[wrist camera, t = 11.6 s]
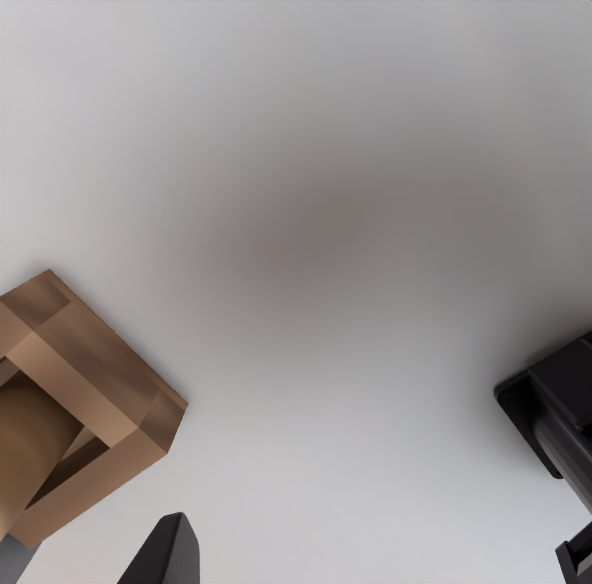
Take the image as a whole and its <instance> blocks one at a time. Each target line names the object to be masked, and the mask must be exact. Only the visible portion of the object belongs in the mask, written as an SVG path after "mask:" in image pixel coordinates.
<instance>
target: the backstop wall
mask: <svg viewBox="0 0 592 584" xmlns="http://www.w3.org/2000/svg"><path fill="white" fill-rule="evenodd" d="M41 543H42V542H40V543H39V544H37V545H36V546H34V547H33V548H32V549H29V548H28V547H26V546H25V545H24V544H22V543H21V542H20V541H18V540H17V539H16V538H14V537H13V536H12V535H10V534H9V533H8V532H7V534H6V535H5V536H4V538H3V539H2V541H1V542H0V584H16V583H17V581H18V579H19V578H20V576H21V575H22V573H23V572H24V570H25V568H26V567H27V565H28V564H29V562H30V560H31V559H32V557H33V556H34V554H35V553H36V551H37V549H38V548H39V546H40V545H41Z"/></svg>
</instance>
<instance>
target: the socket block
mask: <svg viewBox="0 0 592 584" xmlns="http://www.w3.org/2000/svg"><path fill="white" fill-rule="evenodd" d="M20 369H21V370H22V371H23V372H24V373H25V374H27V375H28V376H29V377H30V378H31V379H32V380H33V381H35V382H36V383H37V384H38V385H39V386H40V387H41V388H43V389H44V390H45V391H46V392H47V393H48V394H49V395H51V396H52V397H53V398H54V399H55V400H56V401H57V402H58V403H60V404H61V405H62V406H63V407H64V408H65V409H66V410H68V411H69V412H70V413H71V414H72V415H73V416H74V417H76V418H77V419H78V420H79V421H80V422H81V423H82V424H84V425H85V426H84V428H83V429H82V431H81V432H80V433H79V435H78V436H77V437H76V439H75V440H74V442H73V443H72V444H71V446H70V447H69V448H68V450H67V451H66V453H65V454H64V455H63V457H62V458H61V459H60V461H59V462H58V464H57V465H56V466H55V468H54V469H53V470H52V472H51V473H50V475H49V476H48V477H47V479H46V480H45V481H44V483H43V484H42V486H41V487H40V488H39V490H38V491H37V492H36V494H35V495H34V497H33V498H32V499H31V501H30V502H29V503H28V505H27V506H26V508H25V509H24V510H23V512H22V513H21V514H20V516H19V517H18V519H17V520H16V521H15V523H14V524H13V525H12V527H11V528H10V530H9V531H8V533H9V534H10V535H12V536H13V537H14V538H16V539H17V540H18V541H20V542H21V543H22V544H24V545H25V546H26V547H28V548H29V549H32V548H33V547H34V546H36V545H37V544H39V543H40V542H42V541H43V540H45V539H46V538H47V537H49V536H50V535H52V534H53V533H55V532H56V531H57V530H59V529H60V528H62V527H63V526H65V525H66V524H68V523H69V522H70V521H72V520H73V519H75V518H76V517H78V516H79V515H80V514H82V513H83V512H85V511H86V510H88V509H89V508H90V507H92V506H93V505H95V504H96V503H98V502H99V501H101V500H102V499H103V498H105V497H106V496H108V495H109V494H111V493H112V492H113V491H115V490H116V489H118V488H119V487H121V486H122V485H123V484H125V483H126V482H128V481H129V480H131V479H132V478H134V477H135V476H136V475H138V474H139V473H141V472H142V471H144V470H145V469H146V468H148V467H149V466H151V465H152V464H154V463H155V462H157V461H158V460H159V459H161V458H162V457H164V456H165V455H167V454H168V451H169V449H170V447H171V444H172V442H173V439H174V437H175V435H176V432H177V430H178V427H179V425H180V423H181V420H182V418H183V415H184V413H185V410H186V408H187V406H188V403H187V402H186V401H184V400H183V399H182V398H181V397H180V396H179V395H178V394H177V393H176V392H175V391H174V390H173V389H172V388H171V387H170V386H169V385H168V384H167V383H166V382H165V381H164V380H163V379H162V378H161V377H160V376H159V375H158V374H157V373H156V372H155V371H154V370H153V369H152V368H151V367H150V366H149V365H148V364H147V363H145V362H144V361H143V360H142V359H141V358H140V357H139V356H138V355H137V354H136V353H135V352H134V351H133V350H132V349H131V348H130V347H129V346H128V345H127V344H126V343H125V342H124V341H123V340H122V339H121V338H120V337H119V336H118V335H117V334H116V333H115V332H114V331H113V330H112V329H111V328H110V327H109V326H108V325H106V324H105V323H104V322H103V321H102V320H101V319H100V318H99V317H98V316H97V315H96V314H95V313H94V312H93V311H92V310H91V309H90V308H89V307H88V306H87V305H86V304H85V303H84V302H83V301H82V300H81V299H80V298H79V297H78V296H77V295H76V294H75V293H74V292H73V291H72V290H71V289H70V288H69V287H67V286H66V285H65V284H64V283H63V282H62V281H61V280H60V279H59V278H58V277H57V276H56V275H55V274H54V273H53V272H52V271H51V270H50V269H49V270H47V271H45V272H44V273H42V274H40V275H38V276H36V277H35V278H33V279H31V280H29V281H27V282H26V283H24V284H22V285H20V286H18V287H17V288H15V289H13V290H11V291H9V292H8V293H6V294H4V295H2V296H0V386H2V385H3V384H4V383H5V382H6V381H7V380H9V379H10V378H11V377H12V376H13V375H14V374H16V373H17V372H18V371H19V370H20Z"/></svg>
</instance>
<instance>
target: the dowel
mask: <svg viewBox="0 0 592 584" xmlns="http://www.w3.org/2000/svg"><path fill="white" fill-rule="evenodd" d="M84 426H85V425H84V424H82V423H81V422H80V421H79V420H78V419H77V418H76V417H74V416H73V415H72V414H71V413H70V412H69V411H68V410H66V409H65V408H64V407H63V406H62V405H61V404H60V403H58V402H57V401H56V400H55V399H54V398H53V397H52V396H51V395H49V394H48V393H47V392H46V391H45V390H44V389H43V388H41V387H40V386H39V385H38V384H37V383H36V382H35V381H33V380H32V379H31V378H30V377H29V376H28V375H27V374H25V373H24V372H23V371H22V370H21V369H20V370H19V371H18V372H17V373H16V374H14V375H13V376H12V377H11V378H10V379H9V380H7V381H6V382H5V383H4V384H3V385H2V386H0V542H1V541H2V539H3V538H4V536H5V535H6V534H7V532H8V531H9V530H10V528H11V527H12V525H13V524H14V523H15V521H16V520H17V519H18V517H19V516H20V514H21V513H22V512H23V510H24V509H25V508H26V506H27V505H28V503H29V502H30V501H31V499H32V498H33V497H34V495H35V494H36V492H37V491H38V490H39V488H40V487H41V486H42V484H43V483H44V481H45V480H46V479H47V477H48V476H49V475H50V473H51V472H52V470H53V469H54V468H55V466H56V465H57V464H58V462H59V461H60V459H61V458H62V457H63V455H64V454H65V453H66V451H67V450H68V448H69V447H70V446H71V444H72V443H73V442H74V440H75V439H76V437H77V436H78V435H79V433H80V432H81V431H82V429H83V428H84Z"/></svg>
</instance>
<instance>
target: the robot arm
mask: <svg viewBox="0 0 592 584" xmlns="http://www.w3.org/2000/svg"><path fill="white" fill-rule="evenodd" d="M507 393H509V395H508V396H507V397H503V395H505V394H507ZM494 397H495V399H496V401H497V402H498V403H499V405H500V406H501V407H502V409H503V410H504V412H505V413H506V414H507V416H508V417H509V418H510V420H511V421H512V422H513V424H514V425H515V426H516V428H517V429H518V430H519V432H520V433H521V434H522V436H523V437H524V439H525V440H526V441H527V443H528V444H529V445H530V447H531V448H532V449H533V451H534V452H535V453H536V455H537V456H538V457H539V459H540V460H541V461H542V463H543V464H544V466H545V467H546V468H547V470H548V471H549V472H550V474H551V475H552V476H553V477H554V478H556V479H563V478H565V480H566V481H567V482H568V484H569V485H570V487H571V488H572V489H573V491H574V492H575V493H576V495H577V496H578V497H579V499H580V500H581V501H582V503H583V504H584V505H585V507H586V508H587V509H588V511H589V512H590V513H591V515H592V331H591V332H589V333H587V334H586V335H584V336H582V337H581V338H579V339H577V340H576V341H574V342H572V343H571V344H569V345H567V346H565V347H564V348H562V349H560V350H559V351H557V352H555V353H554V354H552V355H550V356H549V357H547V358H545V359H544V360H542V361H540V362H538V363H537V364H535V365H533V366H532V367H530V368H528V369H527V370H525V371H523V372H522V373H520V374H518V375H517V376H515V377H513V378H511V379H510V380H508V381H506V382H505V383H503V384H501V385H500V386H498V387H497V388H496V389H495V391H494ZM555 552H556V555H557V558H558V561H559V564H560V567H561V570H562V573H563V576H564V579H565V582H566V584H592V521H591V522H590V523H589V524H588V525H587V526H586V527H585V528H583V529H582V530H581V531H580V532H579V533H578V534H577V535H576V536H574V537H573V538H572V539H571V540H570V541H569V542H568V541H564V542H563V543H562V544H561V545H560V546H559V547H558V548H556V549H555ZM117 584H200V553H199V544H198V540H197V538H196V536H195V533H194V531H193V529H192V527H191V525H190V523H189V521H188V519H187V517H186V515H185V514H184V513H183V512H177V513H174V514H170V515H166V516H164V517H162V518H161V519H160V520H159V522H158V523H157V525H156V526H155V528H154V529H153V530H152V532H151V533H150V535H149V536H148V538H147V539H146V541H145V542H144V544H143V545H142V547H141V548H140V550H139V551H138V553H137V554H136V556H135V557H134V559H133V560H132V562H131V563H130V565H129V566H128V568H127V569H126V571H125V572H124V574H123V575H122V577H121V578H120V580H119V581H118V583H117Z"/></svg>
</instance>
